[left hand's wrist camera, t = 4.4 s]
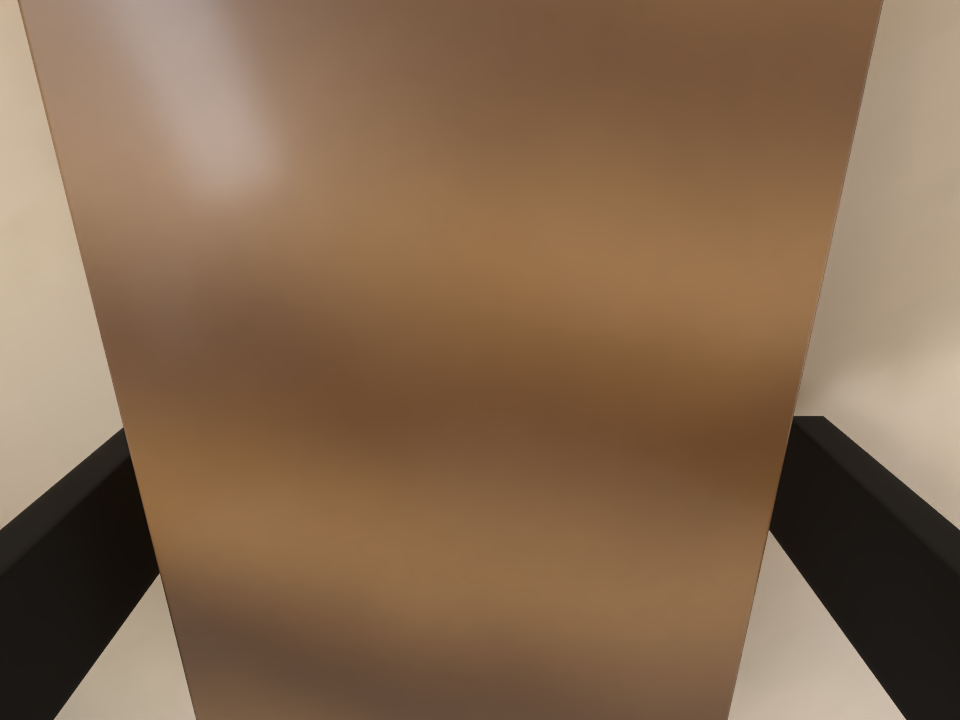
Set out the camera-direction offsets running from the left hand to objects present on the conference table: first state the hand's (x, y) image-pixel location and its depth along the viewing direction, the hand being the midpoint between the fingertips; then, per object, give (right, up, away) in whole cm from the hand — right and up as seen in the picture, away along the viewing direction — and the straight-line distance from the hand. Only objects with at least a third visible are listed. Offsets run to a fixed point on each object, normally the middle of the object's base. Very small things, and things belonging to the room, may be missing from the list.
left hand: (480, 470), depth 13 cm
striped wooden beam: (0, +25, -7) cm, 25 cm away
